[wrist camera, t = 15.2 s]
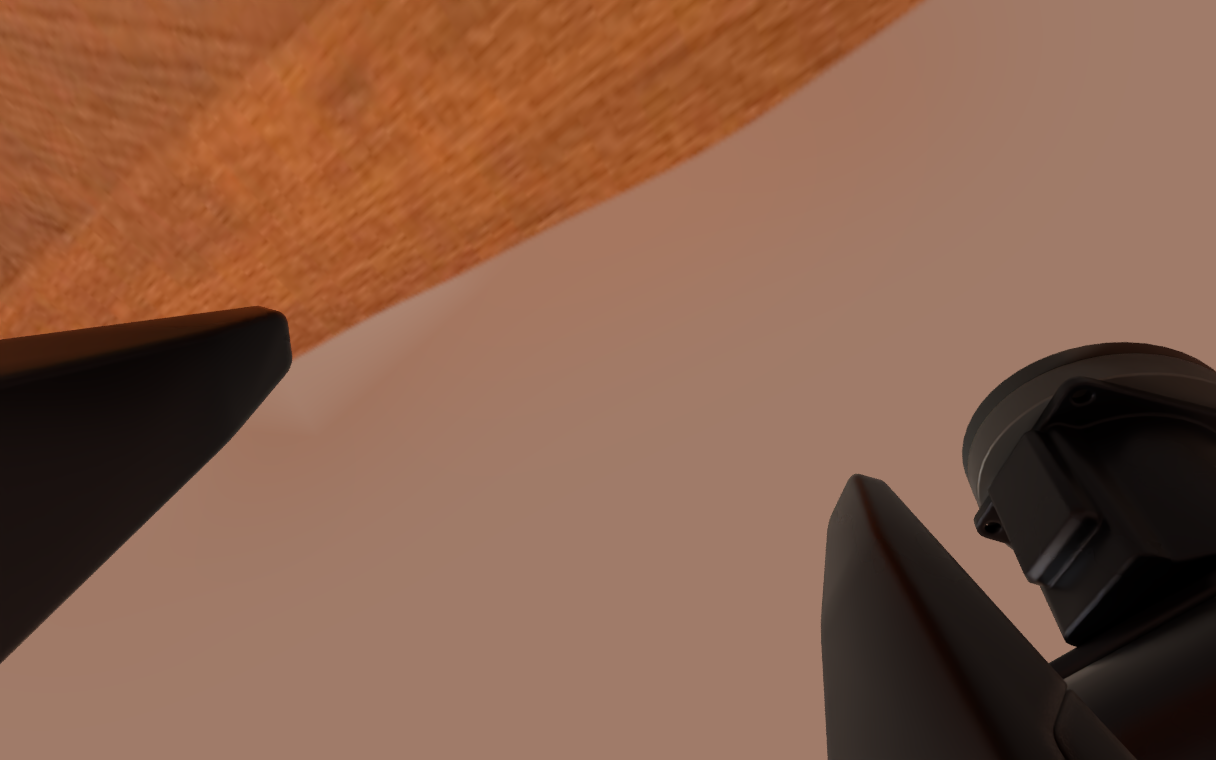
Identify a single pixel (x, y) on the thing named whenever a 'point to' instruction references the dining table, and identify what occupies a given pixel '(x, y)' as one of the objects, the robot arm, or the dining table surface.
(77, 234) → the dining table surface
